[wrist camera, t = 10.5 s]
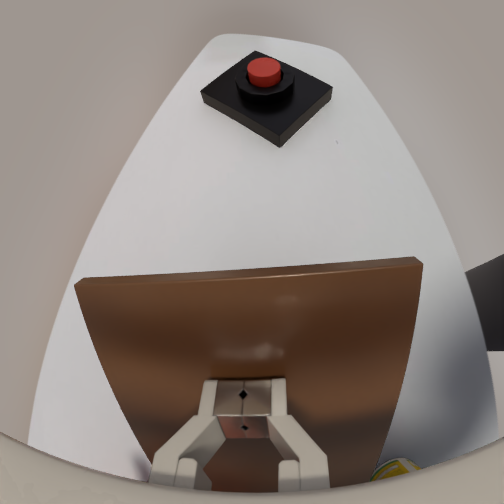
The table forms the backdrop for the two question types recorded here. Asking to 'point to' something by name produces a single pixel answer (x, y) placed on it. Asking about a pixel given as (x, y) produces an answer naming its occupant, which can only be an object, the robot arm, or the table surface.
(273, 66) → the button
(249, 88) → the button block
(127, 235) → the table surface
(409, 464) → the supplement bottle
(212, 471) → the hatch
